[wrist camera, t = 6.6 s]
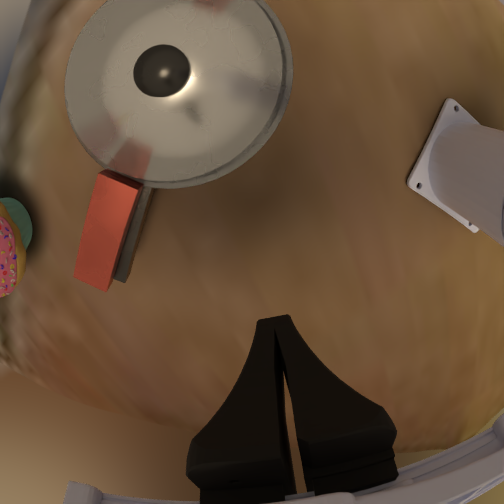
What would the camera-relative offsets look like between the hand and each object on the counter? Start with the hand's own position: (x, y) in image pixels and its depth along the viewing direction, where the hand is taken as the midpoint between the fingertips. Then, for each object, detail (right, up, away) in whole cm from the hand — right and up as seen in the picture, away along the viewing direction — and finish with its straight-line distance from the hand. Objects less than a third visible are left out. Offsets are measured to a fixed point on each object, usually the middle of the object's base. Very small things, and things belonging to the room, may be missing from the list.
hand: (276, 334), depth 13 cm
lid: (-6, +11, +1) cm, 13 cm away
